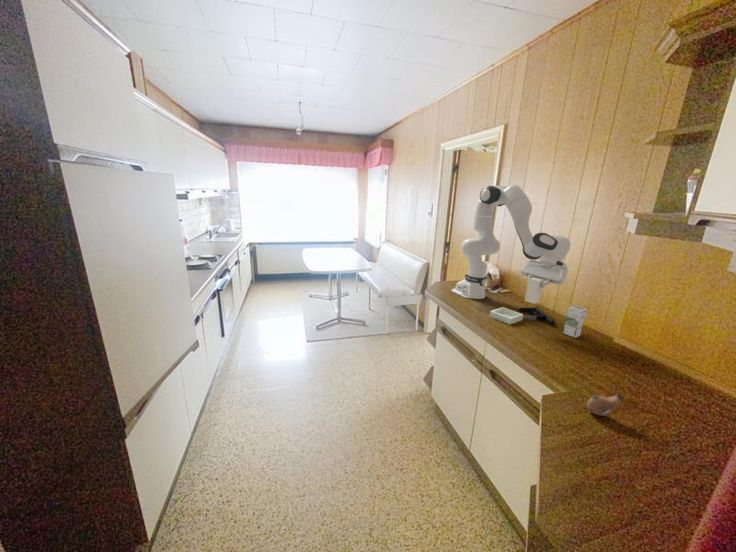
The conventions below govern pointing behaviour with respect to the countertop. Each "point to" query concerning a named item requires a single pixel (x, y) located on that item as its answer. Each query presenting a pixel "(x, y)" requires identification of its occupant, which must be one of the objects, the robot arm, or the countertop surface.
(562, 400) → the countertop surface
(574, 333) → the syrup box
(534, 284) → the cream block
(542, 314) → the toy submachine gun
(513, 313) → the tray
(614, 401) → the oil lamp
